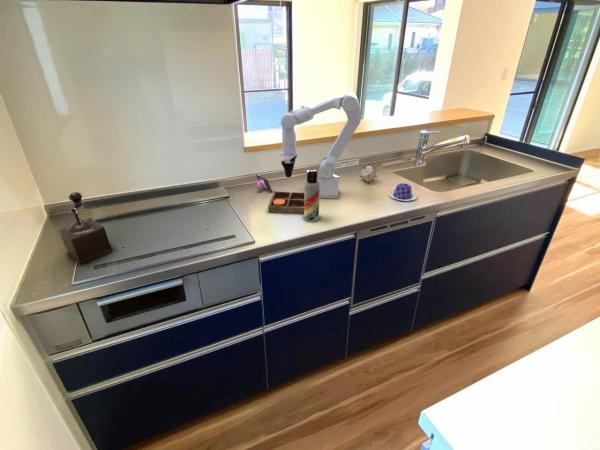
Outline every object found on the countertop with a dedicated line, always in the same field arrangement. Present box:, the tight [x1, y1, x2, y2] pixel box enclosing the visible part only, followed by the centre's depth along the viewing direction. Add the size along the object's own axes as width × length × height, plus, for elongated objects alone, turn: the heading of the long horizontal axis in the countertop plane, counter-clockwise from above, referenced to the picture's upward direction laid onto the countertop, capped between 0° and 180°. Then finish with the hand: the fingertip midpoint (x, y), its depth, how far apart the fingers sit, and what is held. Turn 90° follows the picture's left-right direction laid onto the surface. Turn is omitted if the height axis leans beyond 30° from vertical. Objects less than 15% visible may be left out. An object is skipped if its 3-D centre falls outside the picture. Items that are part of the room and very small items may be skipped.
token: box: [273, 199, 285, 207], centre depth 141 cm, size 5×5×2 cm
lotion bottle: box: [303, 169, 320, 222], centre depth 130 cm, size 6×6×20 cm
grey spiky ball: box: [359, 163, 378, 184], centre depth 165 cm, size 9×8×10 cm
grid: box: [268, 190, 304, 215], centre depth 144 cm, size 15×15×3 cm
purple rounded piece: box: [255, 174, 273, 193], centre depth 157 cm, size 7×5×9 cm
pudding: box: [388, 182, 418, 202], centre depth 151 cm, size 12×12×5 cm
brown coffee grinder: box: [57, 191, 113, 265], centre depth 112 cm, size 16×11×18 cm
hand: (289, 173), depth 151 cm, fingers open, 7 cm apart
